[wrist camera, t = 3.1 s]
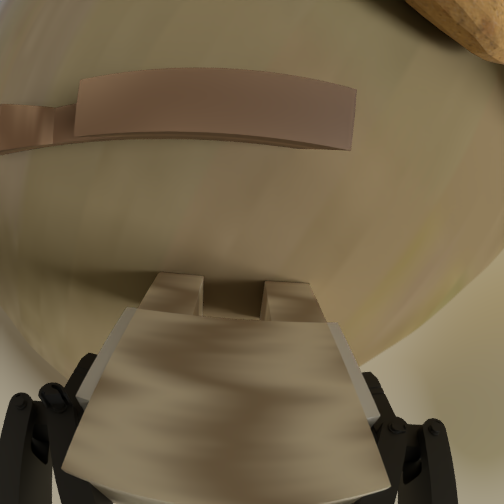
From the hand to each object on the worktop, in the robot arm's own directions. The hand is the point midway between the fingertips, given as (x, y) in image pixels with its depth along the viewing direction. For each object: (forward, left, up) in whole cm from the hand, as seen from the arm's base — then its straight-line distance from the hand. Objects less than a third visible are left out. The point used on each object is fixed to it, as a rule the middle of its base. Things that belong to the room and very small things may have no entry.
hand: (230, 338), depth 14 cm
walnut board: (-11, -8, -4) cm, 14 cm away
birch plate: (0, 0, -4) cm, 4 cm away
